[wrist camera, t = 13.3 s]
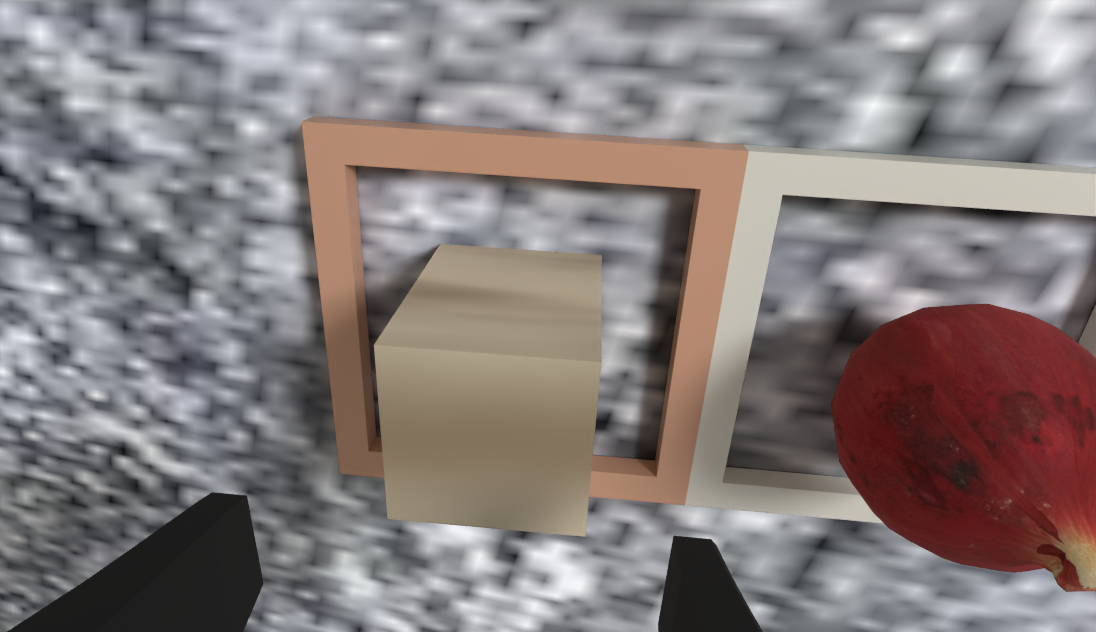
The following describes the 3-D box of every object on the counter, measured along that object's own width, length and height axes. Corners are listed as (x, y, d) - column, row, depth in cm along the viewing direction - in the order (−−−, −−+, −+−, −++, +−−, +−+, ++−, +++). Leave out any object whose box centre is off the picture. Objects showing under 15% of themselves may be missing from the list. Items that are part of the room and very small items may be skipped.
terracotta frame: (682, 488, 21) (685, 505, 21) (348, 458, 22) (339, 473, 21) (742, 144, 17) (749, 151, 16) (314, 116, 17) (301, 121, 16)
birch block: (589, 392, 20) (585, 536, 15) (444, 381, 20) (387, 519, 15) (601, 254, 18) (601, 362, 13) (440, 243, 18) (373, 344, 13)
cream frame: (1032, 519, 21) (1047, 538, 20) (682, 488, 21) (685, 505, 21) (1198, 174, 16) (1226, 182, 15) (742, 144, 17) (749, 151, 16)
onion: (756, 374, 19) (845, 594, 12) (903, 216, 17) (1119, 373, 10) (904, 467, 20) (1066, 721, 13) (1062, 330, 18) (1362, 548, 11)
